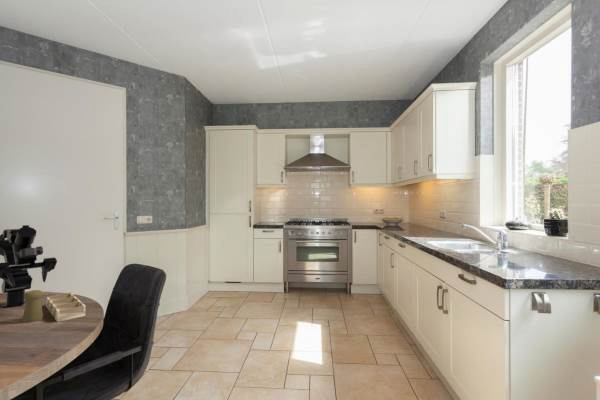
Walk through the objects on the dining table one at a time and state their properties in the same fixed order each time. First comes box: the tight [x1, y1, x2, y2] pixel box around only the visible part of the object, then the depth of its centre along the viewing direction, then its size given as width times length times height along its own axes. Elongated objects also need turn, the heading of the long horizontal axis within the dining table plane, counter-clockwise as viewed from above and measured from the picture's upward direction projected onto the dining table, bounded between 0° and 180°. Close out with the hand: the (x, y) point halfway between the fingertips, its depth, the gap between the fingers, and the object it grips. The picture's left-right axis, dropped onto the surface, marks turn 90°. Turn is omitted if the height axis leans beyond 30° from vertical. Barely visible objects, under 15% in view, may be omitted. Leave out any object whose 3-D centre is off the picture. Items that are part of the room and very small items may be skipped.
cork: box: [21, 289, 44, 324], centre depth 112 cm, size 6×6×11 cm
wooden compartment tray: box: [45, 292, 86, 323], centre depth 122 cm, size 25×9×4 cm, turn 48°
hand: (29, 283), depth 116 cm, fingers open, 9 cm apart
